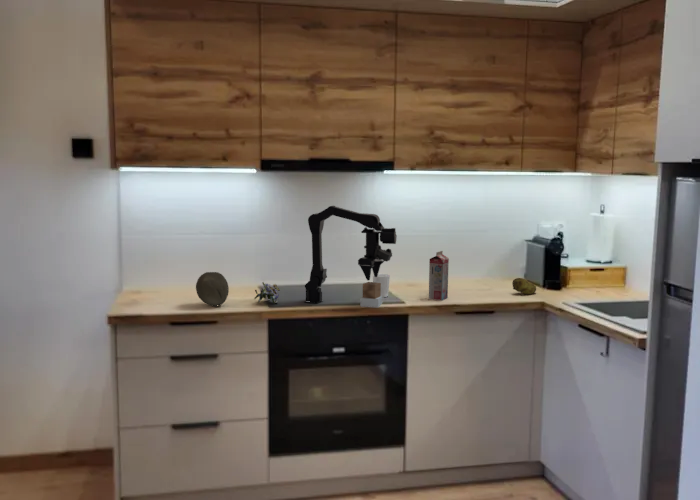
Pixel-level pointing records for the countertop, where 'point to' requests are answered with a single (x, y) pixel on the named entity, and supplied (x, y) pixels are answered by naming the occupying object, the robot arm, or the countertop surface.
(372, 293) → the walnut cube
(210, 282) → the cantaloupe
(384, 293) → the white cup
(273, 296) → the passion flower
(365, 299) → the riser block
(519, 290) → the potato
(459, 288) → the countertop surface
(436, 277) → the juice carton
